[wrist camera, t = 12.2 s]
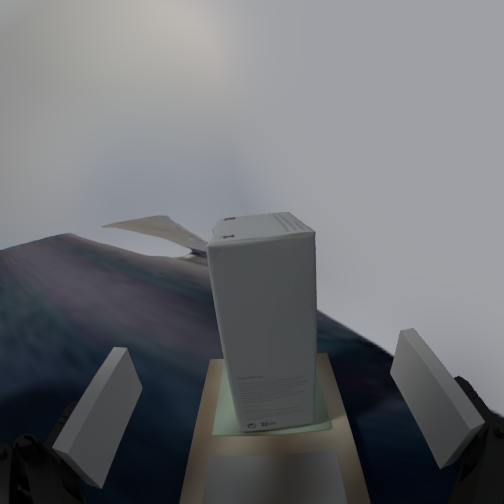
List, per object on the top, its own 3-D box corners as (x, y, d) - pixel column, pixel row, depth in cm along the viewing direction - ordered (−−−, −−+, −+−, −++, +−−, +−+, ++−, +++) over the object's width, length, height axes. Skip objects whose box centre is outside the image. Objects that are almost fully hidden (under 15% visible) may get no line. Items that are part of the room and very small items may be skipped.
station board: (172, 570, 7) (166, 568, 6) (211, 366, 28) (210, 358, 27) (378, 561, 6) (383, 558, 6) (326, 359, 27) (326, 351, 27)
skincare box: (314, 426, 18) (326, 232, 14) (234, 434, 18) (202, 242, 13) (295, 361, 26) (294, 207, 22) (234, 367, 26) (215, 213, 21)
